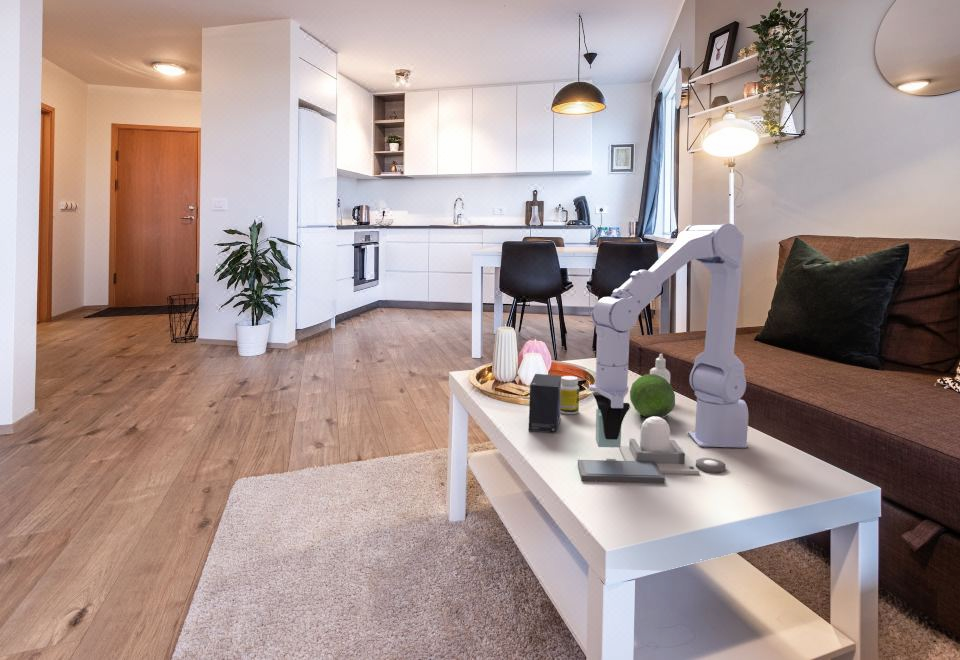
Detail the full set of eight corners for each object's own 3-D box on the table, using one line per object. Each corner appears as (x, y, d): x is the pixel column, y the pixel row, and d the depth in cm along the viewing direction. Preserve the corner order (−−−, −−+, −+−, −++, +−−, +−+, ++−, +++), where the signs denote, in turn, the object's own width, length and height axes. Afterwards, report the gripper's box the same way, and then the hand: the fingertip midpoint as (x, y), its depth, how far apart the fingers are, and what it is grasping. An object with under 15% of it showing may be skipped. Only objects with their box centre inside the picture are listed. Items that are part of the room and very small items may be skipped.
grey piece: (681, 450, 112) (681, 438, 112) (699, 474, 101) (699, 460, 100) (619, 448, 113) (619, 436, 112) (630, 472, 102) (630, 459, 101)
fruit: (625, 404, 143) (626, 365, 141) (666, 406, 141) (668, 366, 140) (632, 424, 128) (634, 380, 126) (678, 426, 126) (681, 382, 125)
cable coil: (719, 462, 106) (720, 457, 106) (729, 473, 101) (729, 468, 101) (692, 461, 106) (692, 457, 106) (700, 472, 101) (700, 467, 101)
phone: (655, 466, 104) (655, 459, 104) (664, 483, 97) (665, 475, 97) (577, 464, 105) (577, 457, 105) (581, 480, 98) (581, 473, 98)
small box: (558, 433, 122) (559, 386, 120) (527, 431, 123) (528, 384, 121) (561, 418, 132) (562, 374, 130) (533, 416, 133) (533, 373, 132)
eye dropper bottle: (652, 402, 144) (654, 356, 142) (647, 396, 150) (649, 351, 148) (670, 402, 144) (672, 356, 142) (664, 396, 150) (666, 351, 148)
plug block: (616, 439, 108) (618, 406, 107) (620, 447, 104) (621, 412, 103) (595, 439, 109) (596, 406, 107) (598, 447, 105) (599, 412, 104)
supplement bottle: (580, 414, 134) (581, 380, 133) (560, 414, 135) (560, 380, 133) (576, 408, 139) (577, 375, 138) (557, 408, 139) (558, 375, 138)
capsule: (667, 453, 110) (669, 413, 109) (669, 464, 105) (672, 422, 104) (639, 451, 112) (640, 411, 110) (639, 461, 107) (641, 420, 105)
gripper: (585, 354, 111) (583, 421, 114) (595, 371, 97) (592, 448, 99) (622, 355, 111) (619, 422, 113) (637, 372, 97) (633, 449, 99)
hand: (609, 434), depth 106 cm, fingers closed on plug block, 4 cm apart
